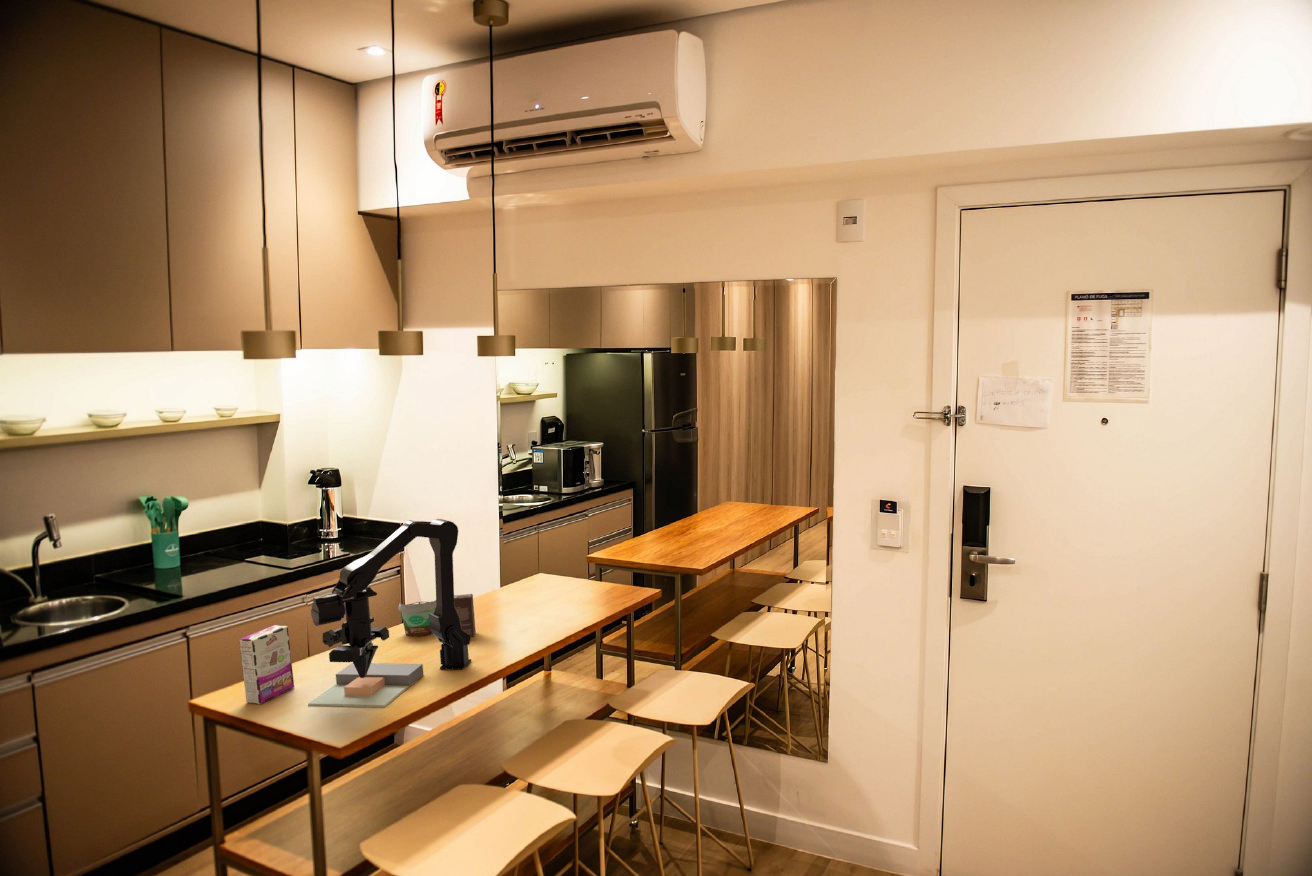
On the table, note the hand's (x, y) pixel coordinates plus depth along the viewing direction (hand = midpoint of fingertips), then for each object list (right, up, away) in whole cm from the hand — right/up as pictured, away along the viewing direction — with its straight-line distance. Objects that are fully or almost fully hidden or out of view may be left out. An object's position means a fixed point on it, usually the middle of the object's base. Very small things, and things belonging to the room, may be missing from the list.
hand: (362, 677), depth 207 cm
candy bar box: (-24, -5, +2) cm, 24 cm away
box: (+16, 0, +42) cm, 45 cm away
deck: (+2, -3, +8) cm, 9 cm away
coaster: (0, -3, +1) cm, 3 cm away
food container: (+2, 0, +45) cm, 45 cm away
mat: (0, -4, -2) cm, 5 cm away
